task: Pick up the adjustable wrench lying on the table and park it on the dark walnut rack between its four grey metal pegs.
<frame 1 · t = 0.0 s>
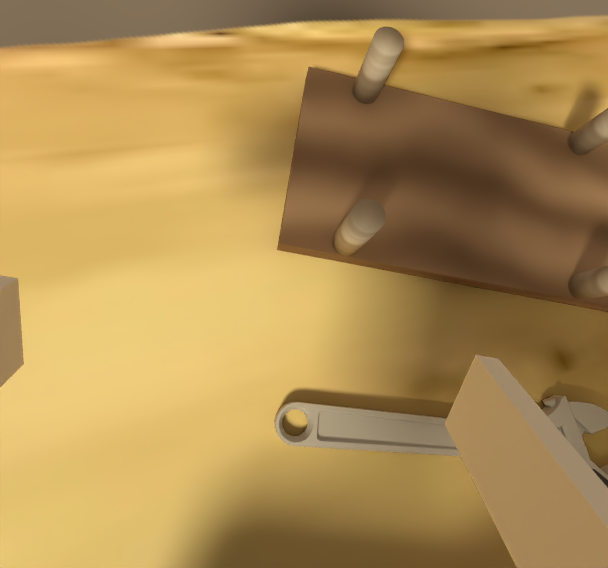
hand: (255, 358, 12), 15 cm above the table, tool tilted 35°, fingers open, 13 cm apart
rack: (461, 197, 32), on the table
adjustable wrench: (455, 424, 29), on the table
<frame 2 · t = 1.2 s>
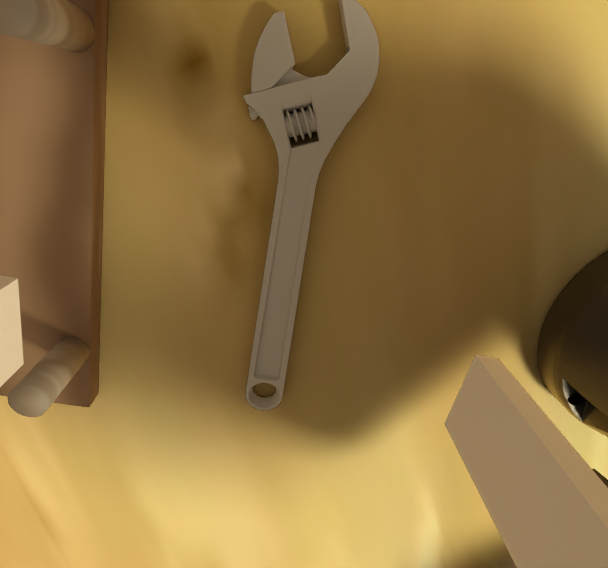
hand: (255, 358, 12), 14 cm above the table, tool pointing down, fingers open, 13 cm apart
adjustable wrench: (277, 230, 26), on the table
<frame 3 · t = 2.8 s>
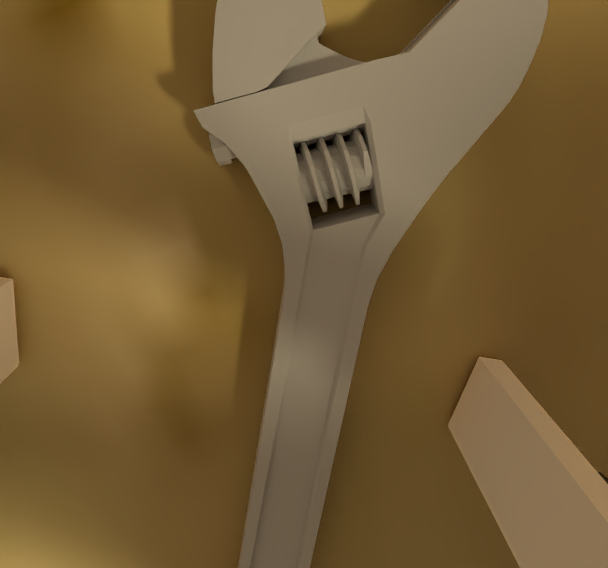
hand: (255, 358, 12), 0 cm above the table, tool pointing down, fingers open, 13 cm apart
adjustable wrench: (282, 370, 13), on the table
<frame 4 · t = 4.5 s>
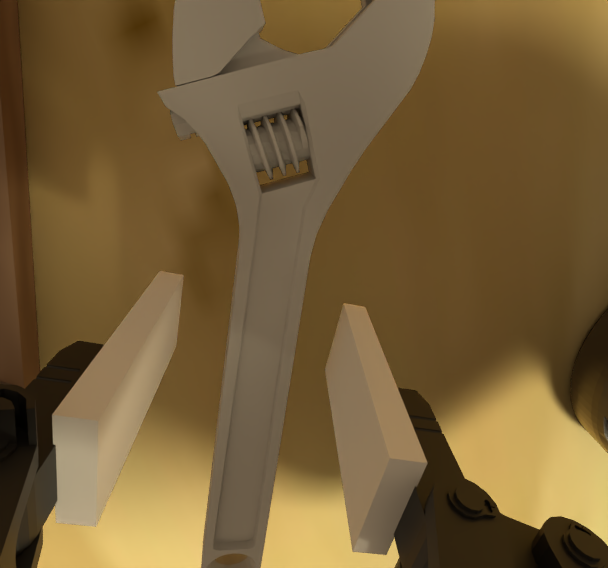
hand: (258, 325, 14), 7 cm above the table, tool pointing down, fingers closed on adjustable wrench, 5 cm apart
adjustable wrench: (240, 323, 15), point 6 cm above the table, touching gripper
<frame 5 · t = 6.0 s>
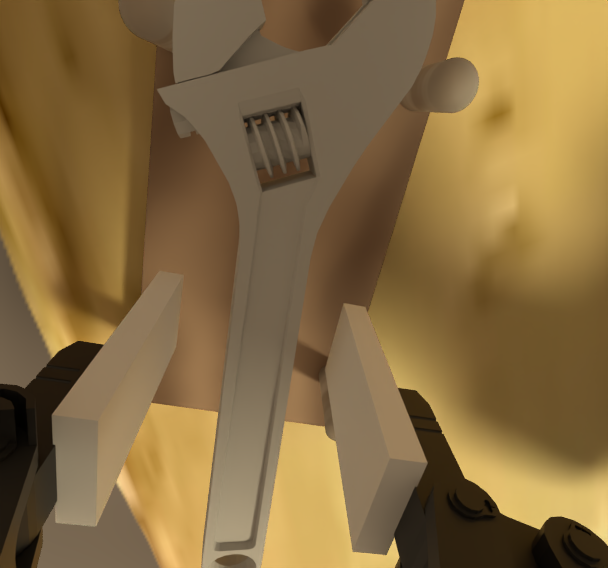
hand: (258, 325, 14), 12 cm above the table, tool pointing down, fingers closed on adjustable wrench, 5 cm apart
rack: (270, 226, 25), on the table
adjustable wrench: (240, 323, 15), point 11 cm above the table, touching gripper
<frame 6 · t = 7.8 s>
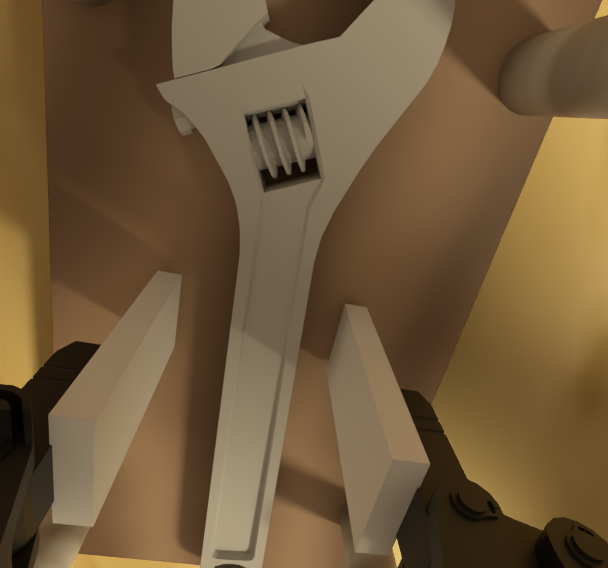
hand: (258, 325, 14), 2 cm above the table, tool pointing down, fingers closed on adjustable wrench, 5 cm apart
rack: (266, 300, 15), on the table
adjustable wrench: (245, 327, 14), point 1 cm above the table, touching gripper, rack
when the fingers open (2 cm above the table, at t = 8.2 s): adjustable wrench stays where it is, resting on rack.
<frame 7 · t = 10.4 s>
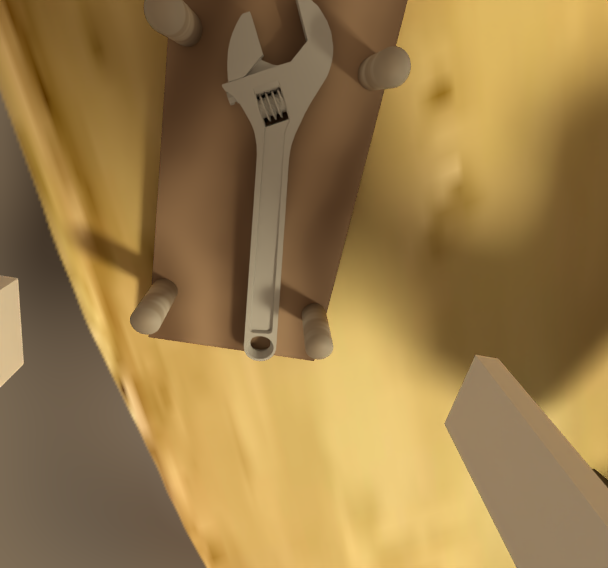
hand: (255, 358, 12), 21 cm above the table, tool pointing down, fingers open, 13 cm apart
rack: (260, 188, 31), on the table
adjustable wrench: (260, 200, 30), point 1 cm above the table, touching rack
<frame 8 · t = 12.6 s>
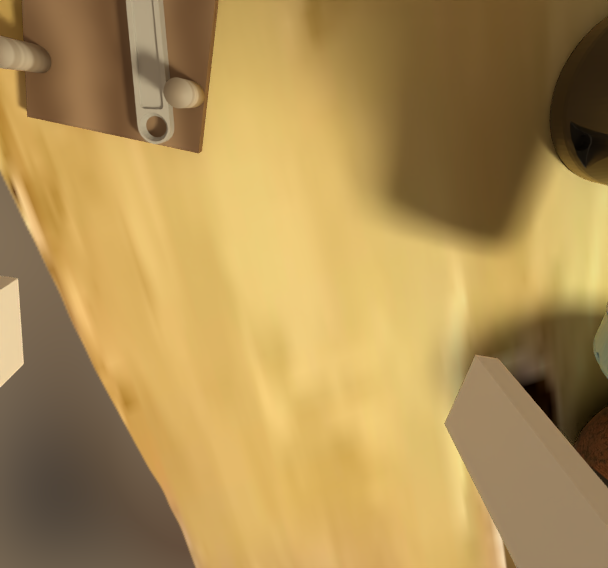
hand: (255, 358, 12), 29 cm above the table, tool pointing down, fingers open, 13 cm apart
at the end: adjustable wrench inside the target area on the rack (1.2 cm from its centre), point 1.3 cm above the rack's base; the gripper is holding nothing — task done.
